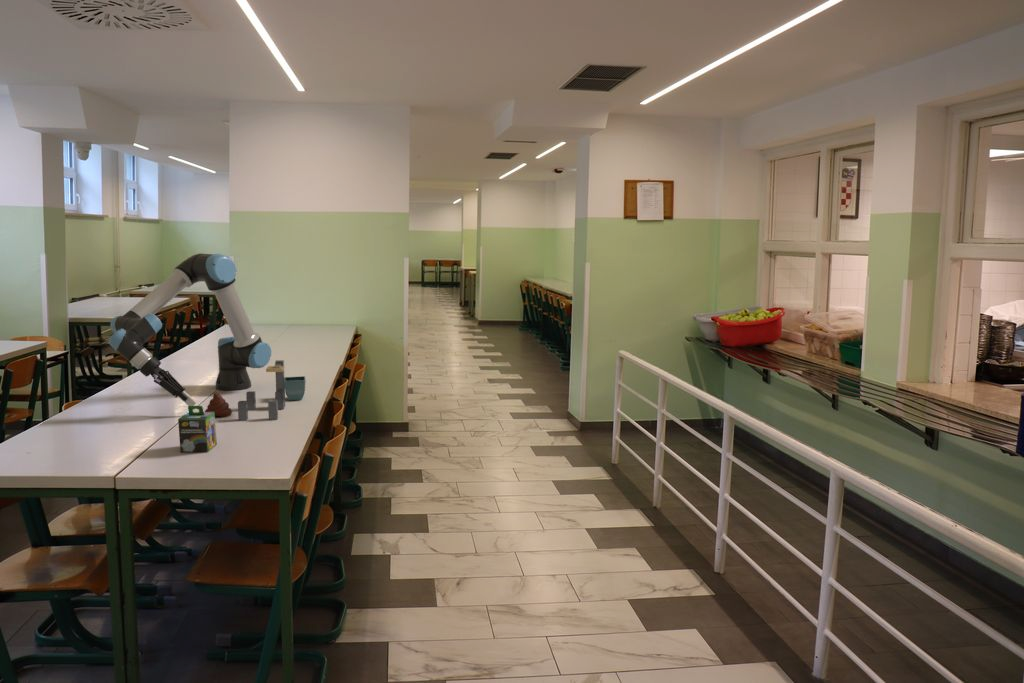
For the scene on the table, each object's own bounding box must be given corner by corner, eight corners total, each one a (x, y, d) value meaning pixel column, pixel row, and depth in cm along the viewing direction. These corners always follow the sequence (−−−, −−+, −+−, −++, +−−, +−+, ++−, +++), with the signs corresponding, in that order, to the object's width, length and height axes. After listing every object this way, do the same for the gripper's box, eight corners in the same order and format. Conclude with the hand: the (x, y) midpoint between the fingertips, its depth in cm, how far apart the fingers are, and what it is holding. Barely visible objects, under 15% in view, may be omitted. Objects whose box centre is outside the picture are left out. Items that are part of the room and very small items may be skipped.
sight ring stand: (267, 415, 311) (265, 367, 308) (273, 406, 326) (272, 360, 323) (283, 415, 311) (282, 367, 309) (289, 406, 327) (287, 360, 324)
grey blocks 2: (268, 420, 304) (268, 401, 303) (276, 408, 324) (276, 391, 322) (276, 419, 304) (276, 401, 303) (284, 407, 324) (283, 390, 323)
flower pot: (284, 402, 334) (283, 380, 333) (284, 397, 343) (283, 377, 342) (306, 401, 337) (305, 380, 336) (305, 396, 345) (305, 376, 344)
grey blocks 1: (238, 420, 302) (237, 402, 301) (248, 408, 322) (247, 391, 321) (246, 420, 303) (246, 402, 302) (256, 408, 322) (255, 391, 321)
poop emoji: (203, 419, 305) (202, 394, 304) (205, 413, 313) (204, 390, 312) (231, 417, 308) (230, 393, 306) (232, 412, 316) (231, 389, 315)
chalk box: (217, 445, 270) (215, 401, 268) (207, 452, 261) (205, 408, 258) (189, 445, 269) (187, 401, 267) (179, 452, 260) (176, 408, 258)
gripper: (144, 366, 311) (191, 408, 315) (133, 373, 298) (182, 415, 303) (158, 353, 311) (204, 394, 315) (147, 358, 298) (196, 401, 303)
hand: (193, 405), depth 309 cm, fingers closed
